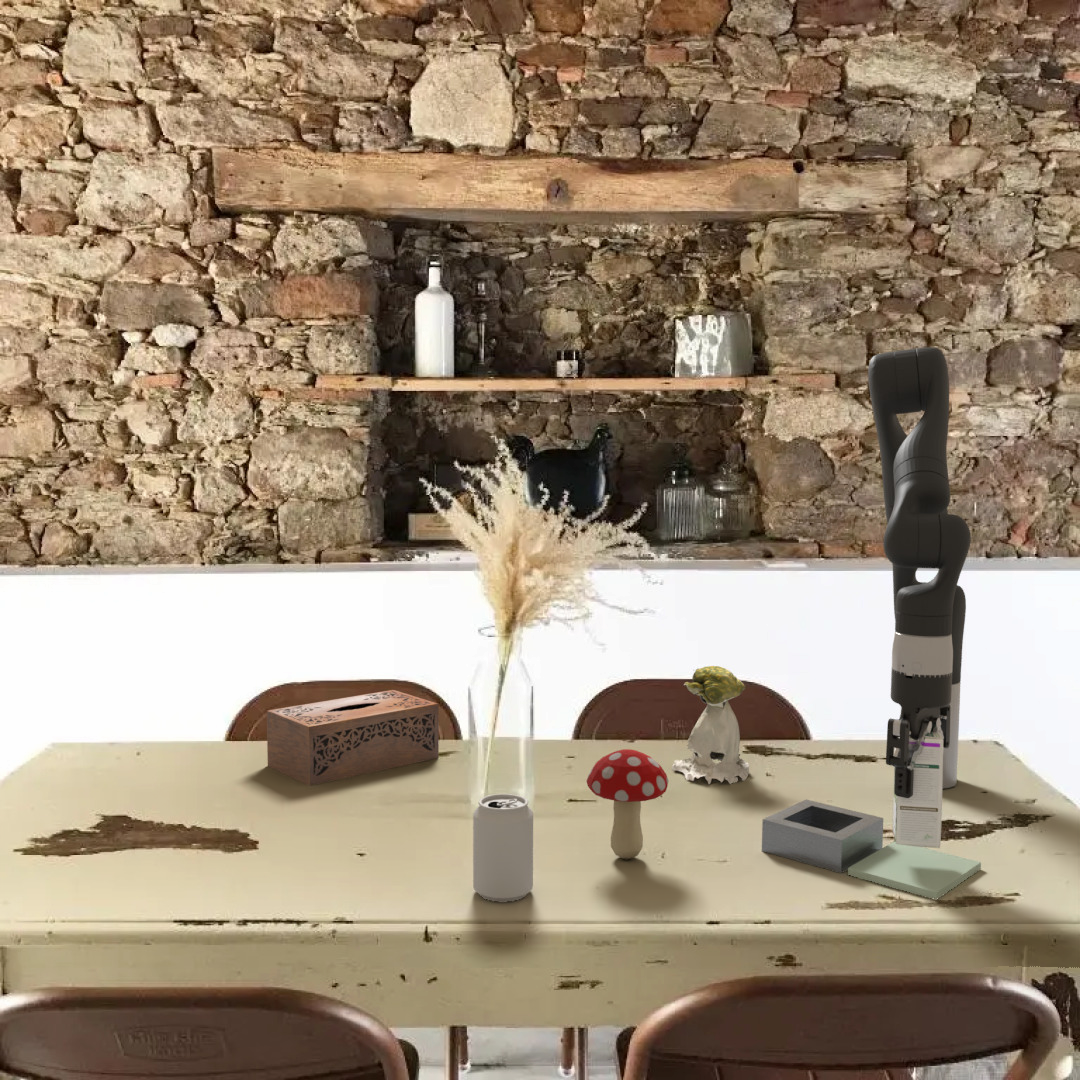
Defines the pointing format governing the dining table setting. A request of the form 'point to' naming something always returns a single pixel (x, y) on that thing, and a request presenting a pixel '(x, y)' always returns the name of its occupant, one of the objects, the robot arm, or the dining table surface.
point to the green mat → (915, 869)
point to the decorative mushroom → (627, 794)
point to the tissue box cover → (351, 736)
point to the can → (503, 847)
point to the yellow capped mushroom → (714, 729)
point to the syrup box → (922, 799)
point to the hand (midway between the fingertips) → (917, 789)
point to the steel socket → (822, 835)
